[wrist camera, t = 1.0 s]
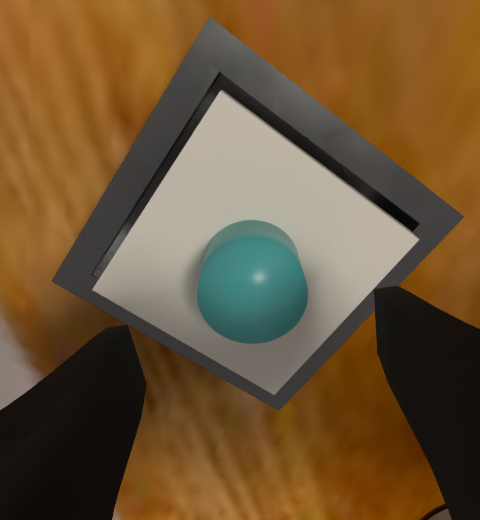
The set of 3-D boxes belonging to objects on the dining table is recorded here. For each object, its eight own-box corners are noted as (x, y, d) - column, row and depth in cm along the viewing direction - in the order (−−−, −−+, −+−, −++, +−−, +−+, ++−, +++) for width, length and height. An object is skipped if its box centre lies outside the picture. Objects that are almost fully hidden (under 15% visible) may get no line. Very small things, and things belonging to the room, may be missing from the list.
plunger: (410, 230, 17) (448, 267, 14) (273, 380, 20) (278, 440, 17) (221, 89, 15) (215, 96, 12) (99, 278, 18) (68, 324, 15)
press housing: (425, 190, 21) (464, 216, 17) (273, 360, 25) (278, 410, 21) (216, 26, 18) (209, 16, 15) (82, 245, 22) (51, 281, 19)
